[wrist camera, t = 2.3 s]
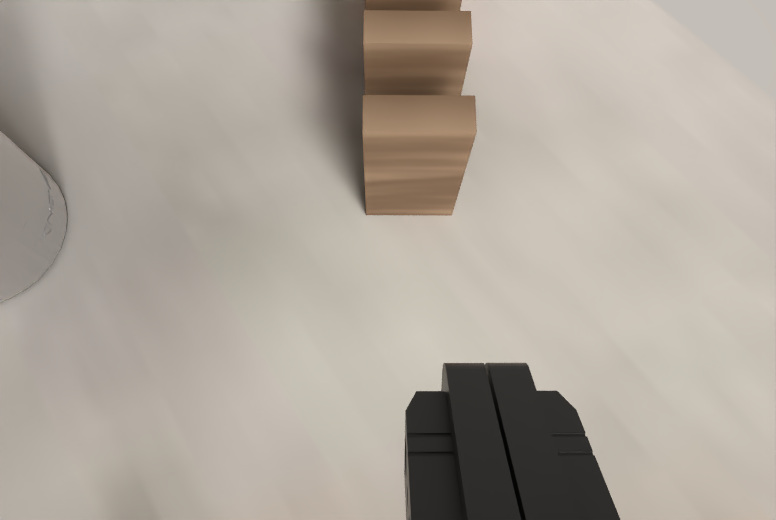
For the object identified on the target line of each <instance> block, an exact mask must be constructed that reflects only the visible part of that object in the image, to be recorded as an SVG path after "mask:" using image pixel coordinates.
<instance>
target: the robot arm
mask: <svg viewBox="0 0 776 520" xmlns="http://www.w3.org/2000/svg"><path fill="white" fill-rule="evenodd" d="M66 225H67V211H66V205H65V200H64V198H63V195H62V193H61V191H60V188H59V187H58V185H57V184H56V183H55V181H54V180H53V179H52V177H51V176H50V175H49V174H48V173H47V172H46V171H44V170H43V169H42V168H41V167H40V166H39V165H38V164H37V163H35V162H34V161H33V160H32V159H31V158H30V157H29V156H28V155H26V154H25V153H24V152H23V151H22V150H21V149H20V148H19V147H17V146H16V144H14V143H13V142H12V141H11V140H10V139H9V138H8V137H7V136H6V135H4V134H3V133H2V132H1V131H0V302H2V301H5V300H7V299H10V298H12V297H14V296H15V295H17V294H19V293H21V292H22V291H24V290H26V289H27V288H29V287H30V286H31V285H32V284H33V283H35V282H36V281H37V280H38V279H39V278H41V276H42V275H43V274H44V273H45V272H46V270H47V269H48V268H49V267H50V266H51V264H52V263H53V261H54V260H55V258H56V256H57V254H58V252H59V251H60V249H61V246H62V243H63V240H64V236H65V233H66ZM404 475H405V497H406V520H620V518H619V515H618V513H617V510H616V508H615V505H614V503H613V500H612V498H611V495H610V493H609V490H608V488H607V485H606V483H605V480H604V478H603V475H602V473H601V470H600V468H599V466H598V463H597V461H596V458H595V456H594V455H593V453H592V448H591V446H590V443H589V441H588V438H587V437H585V431H584V428H583V426H582V423H581V421H580V418H579V416H578V413H577V411H576V409H575V408H574V407H573V406H572V405H571V404H570V403H569V402H568V401H567V400H566V399H565V398H564V397H563V396H562V395H561V394H560V393H559V392H558V391H536V388H535V385H534V382H533V379H532V376H531V373H530V370H529V367H528V365H527V364H526V363H486V364H485V365H484V363H444V364H443V371H442V390H441V391H416V393H415V395H414V397H413V398H412V400H411V402H410V404H409V406H408V407H407V409H406V419H405V470H404Z"/></svg>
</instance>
